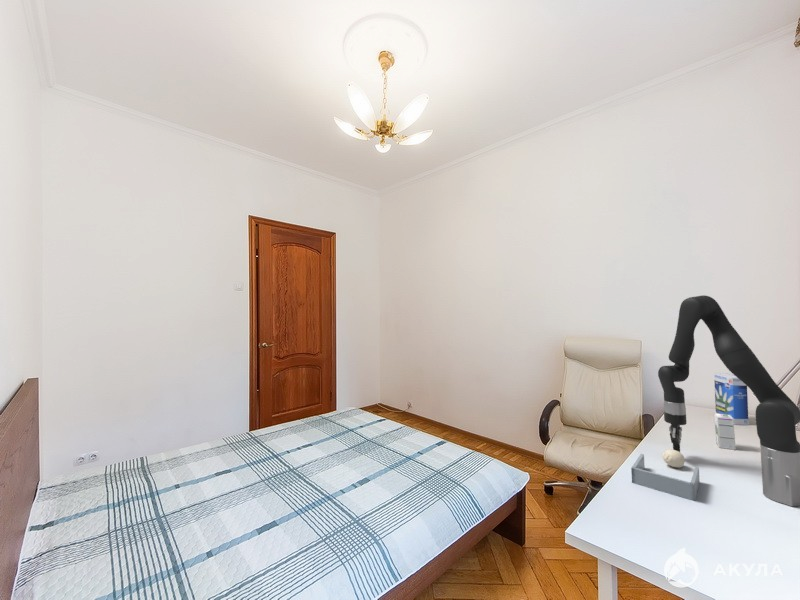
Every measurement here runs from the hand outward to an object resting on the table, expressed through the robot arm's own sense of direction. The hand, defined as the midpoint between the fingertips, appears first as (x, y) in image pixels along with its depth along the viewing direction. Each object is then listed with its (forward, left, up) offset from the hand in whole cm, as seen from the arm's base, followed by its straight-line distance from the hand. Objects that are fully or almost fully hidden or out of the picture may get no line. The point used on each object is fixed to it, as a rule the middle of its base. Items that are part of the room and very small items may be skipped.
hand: (676, 451), depth 146 cm
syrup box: (+8, -32, -3) cm, 34 cm away
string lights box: (+38, -71, -3) cm, 81 cm away
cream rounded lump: (-6, +8, -3) cm, 10 cm away
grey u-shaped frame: (-17, +22, -3) cm, 28 cm away
